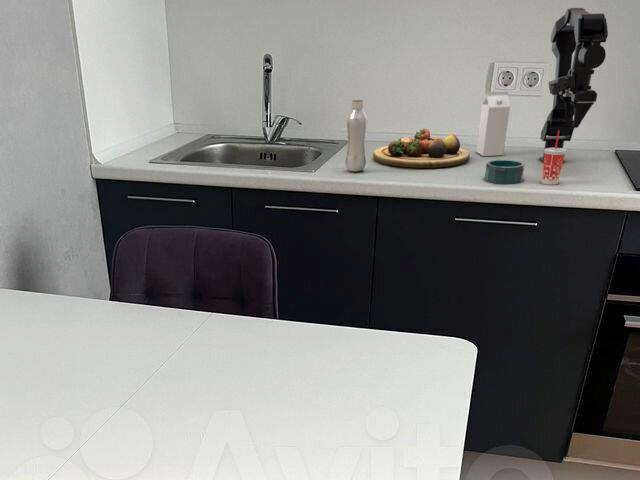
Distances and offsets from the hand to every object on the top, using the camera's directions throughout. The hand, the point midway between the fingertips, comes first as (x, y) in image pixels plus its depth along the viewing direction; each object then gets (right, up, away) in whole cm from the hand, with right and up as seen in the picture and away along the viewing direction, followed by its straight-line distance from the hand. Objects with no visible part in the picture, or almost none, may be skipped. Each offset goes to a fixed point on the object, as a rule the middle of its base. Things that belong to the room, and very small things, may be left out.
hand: (571, 125), depth 218 cm
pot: (-21, -16, 0) cm, 26 cm away
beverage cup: (-8, -19, -5) cm, 22 cm away
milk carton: (-15, +5, +32) cm, 36 cm away
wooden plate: (-40, +2, +27) cm, 48 cm away
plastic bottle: (-63, -8, +14) cm, 65 cm away
